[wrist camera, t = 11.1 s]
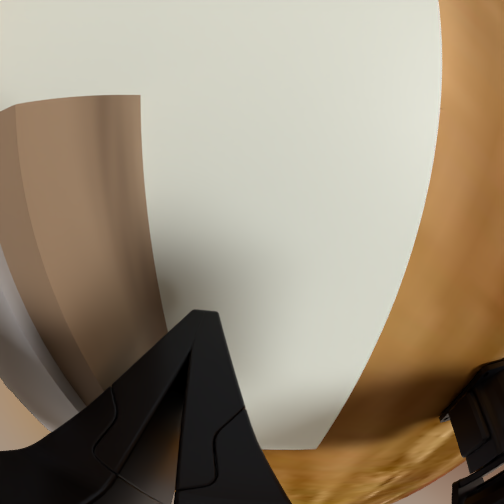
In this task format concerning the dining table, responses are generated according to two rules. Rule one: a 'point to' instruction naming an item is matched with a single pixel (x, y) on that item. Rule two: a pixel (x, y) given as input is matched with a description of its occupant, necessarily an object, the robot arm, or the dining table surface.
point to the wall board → (262, 168)
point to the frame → (73, 251)
